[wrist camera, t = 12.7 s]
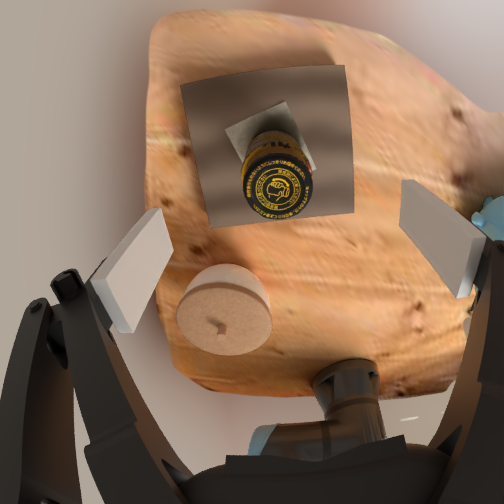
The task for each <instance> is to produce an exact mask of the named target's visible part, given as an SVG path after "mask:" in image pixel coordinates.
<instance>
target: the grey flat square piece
mask: <svg viewBox="0 0 504 504" xmlns="http://www.w3.org/2000/svg"><path fill="white" fill-rule="evenodd" d="M180 87H181V92H182V97H183V103H184V108H185V113H186V118H187V123H188V128H189V133H190V138H191V143H192V147H193V152H194V157H195V161H196V166H197V171H198V175H199V180H200V184H201V189H202V193H203V197H204V202H205V206H206V210H207V215H208V219H209V223H210V227H211V229H213V228H221V227H229V226H237V225H245V224H253V223H262V222H271V221H279V220H275V219H267V218H264V217H262V216H261V215H260V214H259V213H257V212H255V211H254V210H253V209H252V208H251V207H250V206H249V204H248V202H247V200H246V198H245V197H244V192H243V187H242V183H241V168H242V164H243V163H242V161H241V159H240V157H239V155H238V154H237V152H236V150H235V148H234V146H233V144H232V142H231V140H230V139H229V137H228V135H227V133H226V131H225V129H227V128H229V127H231V126H233V125H235V124H237V123H239V122H241V121H243V120H245V119H247V118H249V117H251V116H254V115H256V114H258V113H260V112H262V111H265V110H267V109H269V108H271V107H274V106H276V105H279V104H281V103H283V102H286V104H287V106H288V108H289V110H290V112H291V114H292V116H293V118H294V120H295V122H296V124H297V126H298V129H299V131H300V133H301V135H302V137H303V140H304V142H305V144H306V146H307V149H308V151H309V153H310V155H311V158H312V160H313V162H314V164H315V167H316V170H313V171H312V173H313V192H312V197H311V199H310V201H309V203H308V204H307V206H306V207H305V208H304V209H303V210H302V211H301V212H300V213H299V214H297V215H295V216H293V217H290V218H286V219H282V220H288V219H298V218H307V217H317V216H326V215H337V214H347V213H354V168H353V147H352V131H351V118H350V107H349V98H348V89H347V80H346V73H345V66H344V65H315V66H297V67H284V68H274V69H265V70H257V71H250V72H243V73H237V74H231V75H225V76H220V77H214V78H210V79H205V80H200V81H196V82H191V83H187V84H183V85H180Z"/></svg>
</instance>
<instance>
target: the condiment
mask: <svg viewBox="0 0 504 504" xmlns="http://www.w3.org/2000/svg"><path fill="white" fill-rule="evenodd" d="M225 131H226V133H227V135H228V137H229V139H230V140H231V142H232V144H233V146H234V148H235V150H236V152H237V154H238V155H239V157H240V159H241V161H242V163H243V164H242V168H241V183H242V187H243V192H244V197H245V198H246V200H247V202H248V204H249V206H250V207H251V208H252V209H253V210H254V211H255V212H257V213H259V214H260V215H261V216H262V217H264V218H267V219H275V220H282V219H286V218H290V217H293V216H295V215H297V214H299V213H300V212H301V211H302V210H303V209H304V208H305V207H306V206H307V204H308V203H309V201H310V199H311V197H312V192H313V173H312V171H313V170H316V167H315V164H314V162H313V160H312V158H311V155H310V153H309V151H308V149H307V146H306V144H305V142H304V140H303V137H302V135H301V133H300V131H299V129H298V126H297V124H296V122H295V120H294V118H293V116H292V114H291V112H290V110H289V108H288V106H287V104H286V102H283V103H281V104H279V105H276V106H274V107H271V108H269V109H267V110H265V111H262V112H260V113H258V114H256V115H254V116H251V117H249V118H247V119H245V120H243V121H241V122H239V123H237V124H235V125H233V126H231V127H229V128H227V129H225Z"/></svg>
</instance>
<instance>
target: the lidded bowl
mask: <svg viewBox="0 0 504 504" xmlns="http://www.w3.org/2000/svg"><path fill="white" fill-rule="evenodd" d="M176 322H177V325H178V328H179V330H180V331H181V333H182V334H183V336H184V337H185V338H186V339H187V340H188V341H189V342H190V343H192V344H193V345H195V346H196V347H198V348H200V349H202V350H204V351H207V352H210V353H214V354H219V355H240V354H245V353H248V352H251V351H253V350H255V349H257V348H258V347H260V346H261V345H262V344H264V342H265V341H266V340H267V339H268V337H269V335H270V333H271V330H272V317H271V309H270V302H269V297H268V294H267V292H266V289H265V287H264V285H263V284H262V282H261V281H260V280H259V278H258V277H257V276H256V275H255V274H254V273H252V272H251V271H249V270H248V269H246V268H244V267H242V266H239V265H235V264H217V265H213V266H210V267H208V268H206V269H204V270H202V271H201V272H200V273H198V274H197V275H196V276H195V277H194V278H193V280H192V281H191V282H190V283H189V285H188V286H187V288H186V290H185V292H184V294H183V297H182V299H181V301H180V303H179V305H178V307H177V311H176Z"/></svg>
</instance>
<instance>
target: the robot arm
mask: <svg viewBox="0 0 504 504" xmlns="http://www.w3.org/2000/svg"><path fill="white" fill-rule="evenodd" d="M399 226H400V227H401V229H402V230H403V231H404V232H405V233H406V234H407V236H408V237H409V238H410V239H411V240H412V242H413V243H414V244H415V245H416V246H417V248H418V249H419V250H420V251H421V253H422V254H423V255H424V256H425V258H426V259H427V260H428V261H429V263H430V264H431V265H432V267H433V268H434V269H435V271H436V272H437V273H438V274H439V276H440V277H441V279H442V280H443V281H444V283H445V284H446V285H447V287H448V288H449V290H450V291H451V292H452V294H453V295H454V297H455V298H456V299H458V298H462V297H466V296H469V295H470V293H471V290H472V287H473V284H475V286H476V287H477V288H478V291H477V294H476V296H475V299H474V302H473V304H472V307H471V309H470V311H473V314H472V319H471V325H470V330H469V334H468V339H467V343H466V347H465V351H464V355H463V359H462V362H461V366H460V369H459V373H458V376H457V379H456V383H455V385H454V388H453V391H452V394H451V397H450V400H449V403H448V405H447V408H446V411H445V413H444V416H443V418H442V421H441V423H440V426H439V428H438V430H437V432H436V434H435V436H434V437H433V439H432V440H431V442H430V443H429V445H428V446H425V445H420V444H408V443H407V444H406V442H405V438H404V435H399V436H396V437H392V438H387V436H386V432H385V428H384V423H383V419H382V415H381V411H380V407H379V403H378V392H379V382H380V375H379V372H378V368H377V366H376V365H375V364H374V363H373V362H371V361H368V360H363V359H353V360H346V361H342V362H339V363H336V364H333V365H331V366H329V367H327V368H325V369H324V370H322V371H321V372H320V373H318V374H317V375H316V377H315V378H314V380H313V392H314V395H315V397H316V399H317V401H318V403H319V405H320V406H321V408H322V410H323V412H324V416H325V420H324V421H316V422H304V423H288V424H287V423H286V424H280V423H277V424H274V425H262V426H259V427H258V428H256V429H255V431H254V432H253V435H252V437H251V442H250V445H249V449H248V455H244V456H241V455H239V456H237V455H226V462H225V464H224V465H220V466H216V467H213V468H209V469H207V470H205V471H202V472H200V473H198V474H196V475H193V474H192V473H191V471H190V470H189V469H188V468H187V467H186V466H185V465H184V464H183V462H182V461H181V460H180V459H179V457H178V456H177V455H176V453H175V451H174V450H173V448H172V447H171V446H170V444H169V442H168V441H167V439H166V437H165V436H164V435H163V433H162V431H161V430H160V428H159V426H158V424H157V423H156V421H155V419H154V418H153V416H152V414H151V412H150V411H149V409H148V407H147V405H146V404H145V402H144V400H143V398H142V396H141V394H140V393H139V390H138V389H137V387H136V385H135V383H134V381H133V379H132V377H131V375H130V373H129V371H128V369H127V367H126V364H125V362H124V360H123V358H122V356H121V353H120V351H119V349H118V347H117V344H116V342H115V340H114V337H113V335H112V334H111V332H110V330H109V329H110V327H111V325H112V323H113V325H114V326H115V328H116V330H117V331H118V333H134V331H135V329H136V327H137V325H138V323H139V320H140V318H141V316H142V314H143V312H144V309H145V307H146V305H147V303H148V301H149V299H150V297H151V295H152V293H153V291H154V289H155V287H156V285H157V283H158V281H159V279H160V277H161V275H162V273H163V271H164V269H165V267H166V265H167V263H168V261H169V259H170V257H171V255H172V253H173V251H174V250H173V246H172V243H171V240H170V237H169V233H168V230H167V227H166V223H165V220H164V217H163V213H162V210H161V207H158V208H153V209H148V210H147V211H146V213H145V214H144V215H143V216H142V217H141V218H140V219H139V220H138V222H137V223H136V224H135V225H134V226H133V227H132V228H131V230H130V231H129V232H128V233H127V234H126V235H125V237H124V238H123V239H122V240H121V242H120V243H119V244H118V245H117V246H116V248H115V249H114V250H113V251H112V252H111V254H110V255H109V256H108V257H107V258H105V259H104V260H103V261H102V262H101V264H100V265H99V266H98V268H97V269H96V270H95V271H94V273H93V274H92V275H91V276H90V278H89V279H88V280H87V282H86V283H85V284H84V283H83V281H82V279H81V277H80V275H79V273H78V271H77V270H76V269H68V270H66V271H63V272H62V273H60V274H58V275H57V276H56V277H55V278H54V279H53V280H52V282H51V284H50V286H51V288H52V290H53V292H54V293H55V295H56V296H57V299H58V300H59V302H60V304H57V305H54V306H50V304H49V302H48V301H47V299H46V298H39V299H37V300H34V301H32V302H31V303H30V304H29V306H28V307H27V308H26V310H25V312H24V315H23V318H22V320H21V323H20V327H19V329H18V332H17V335H16V339H15V342H14V345H13V349H12V352H11V356H10V359H9V363H8V367H7V371H6V375H5V380H4V384H3V389H2V394H1V399H0V504H82V498H81V490H80V483H79V476H78V469H77V459H76V450H75V435H74V409H73V408H74V402H73V401H74V397H73V395H74V393H73V392H74V390H73V389H74V388H75V393H76V397H77V400H78V404H79V407H80V410H81V414H82V417H83V420H84V423H85V427H86V430H87V433H88V436H89V439H90V444H89V445H87V446H85V448H84V453H85V458H86V460H87V463H88V465H89V468H90V471H91V473H92V476H93V478H94V481H95V483H96V486H97V488H98V490H99V492H100V494H101V496H102V499H103V501H104V503H105V504H504V241H503V240H494V241H493V240H492V239H491V238H489V237H488V236H487V235H486V234H485V233H484V232H483V231H482V230H479V228H478V227H477V226H476V225H474V224H473V223H472V222H471V221H470V220H469V219H467V218H465V217H463V216H462V215H461V214H459V213H458V212H457V211H456V210H454V209H453V208H452V207H450V206H449V205H448V204H447V203H445V202H444V201H443V200H441V199H440V198H439V197H437V196H436V195H435V194H433V193H432V192H431V191H429V190H428V189H426V188H425V187H424V186H422V185H421V184H419V183H418V182H416V181H415V180H402V188H401V207H400V220H399Z"/></svg>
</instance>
